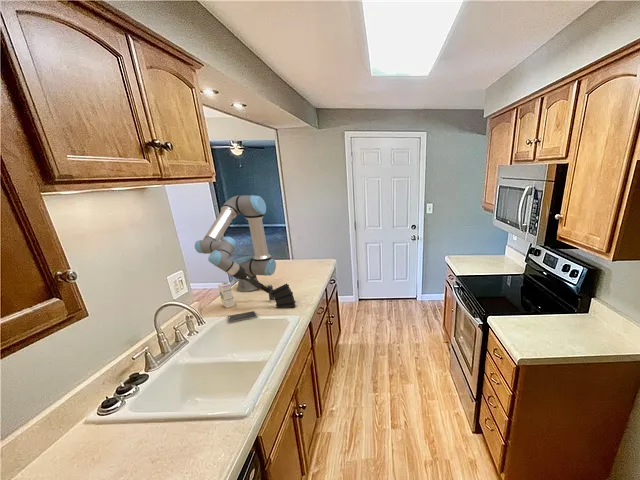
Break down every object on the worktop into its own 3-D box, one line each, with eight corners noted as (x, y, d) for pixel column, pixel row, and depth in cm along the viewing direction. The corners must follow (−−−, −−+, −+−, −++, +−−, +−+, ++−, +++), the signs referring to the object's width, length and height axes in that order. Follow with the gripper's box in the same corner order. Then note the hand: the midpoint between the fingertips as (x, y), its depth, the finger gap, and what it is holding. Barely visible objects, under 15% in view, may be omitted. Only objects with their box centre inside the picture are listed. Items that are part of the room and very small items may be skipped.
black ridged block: (298, 305, 201) (285, 284, 196) (280, 314, 203) (267, 293, 199) (300, 303, 205) (287, 282, 200) (282, 311, 207) (269, 291, 202)
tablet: (228, 317, 189) (227, 315, 188) (254, 312, 195) (253, 310, 195) (229, 323, 182) (229, 321, 181) (256, 317, 188) (256, 315, 188)
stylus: (269, 301, 214) (266, 284, 210) (274, 300, 215) (271, 284, 211) (270, 302, 211) (267, 286, 208) (275, 301, 213) (272, 285, 209)
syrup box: (235, 305, 206) (231, 283, 201) (225, 308, 202) (221, 285, 197) (231, 303, 210) (227, 281, 205) (222, 305, 206) (217, 283, 201)
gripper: (223, 271, 200) (252, 289, 215) (240, 280, 183) (269, 298, 198) (231, 261, 201) (259, 280, 216) (248, 269, 185) (276, 288, 200)
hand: (264, 289), depth 207 cm, fingers open, 13 cm apart
